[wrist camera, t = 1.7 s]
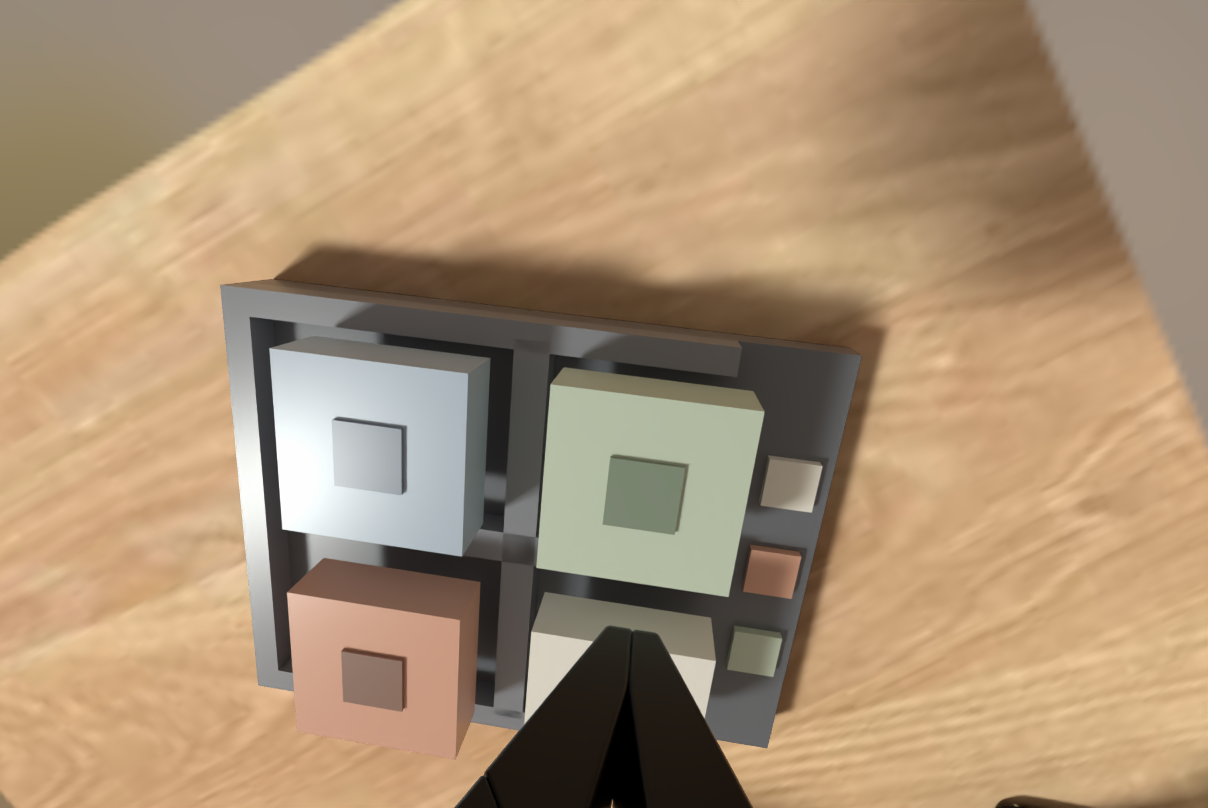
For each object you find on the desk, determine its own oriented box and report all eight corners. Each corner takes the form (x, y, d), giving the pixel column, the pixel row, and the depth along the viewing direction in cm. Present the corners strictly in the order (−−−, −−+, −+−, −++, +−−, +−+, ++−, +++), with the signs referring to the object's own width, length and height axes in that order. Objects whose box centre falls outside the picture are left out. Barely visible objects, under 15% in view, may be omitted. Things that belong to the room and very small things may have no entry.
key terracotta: (480, 582, 17) (458, 622, 16) (474, 711, 19) (454, 763, 17) (324, 557, 18) (284, 594, 16) (330, 687, 19) (294, 734, 17)
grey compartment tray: (848, 347, 17) (874, 363, 15) (761, 720, 21) (772, 774, 19) (271, 278, 18) (220, 285, 16) (296, 642, 22) (258, 685, 20)
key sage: (753, 390, 15) (765, 413, 13) (721, 558, 16) (729, 600, 14) (563, 367, 15) (549, 385, 13) (549, 533, 17) (535, 570, 15)
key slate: (490, 358, 15) (466, 374, 13) (482, 523, 17) (460, 559, 15) (313, 335, 16) (266, 349, 14) (320, 499, 17) (279, 531, 15)
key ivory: (711, 617, 17) (716, 664, 15) (686, 748, 18) (689, 805, 17) (545, 591, 17) (530, 634, 15) (534, 722, 19) (519, 775, 17)
